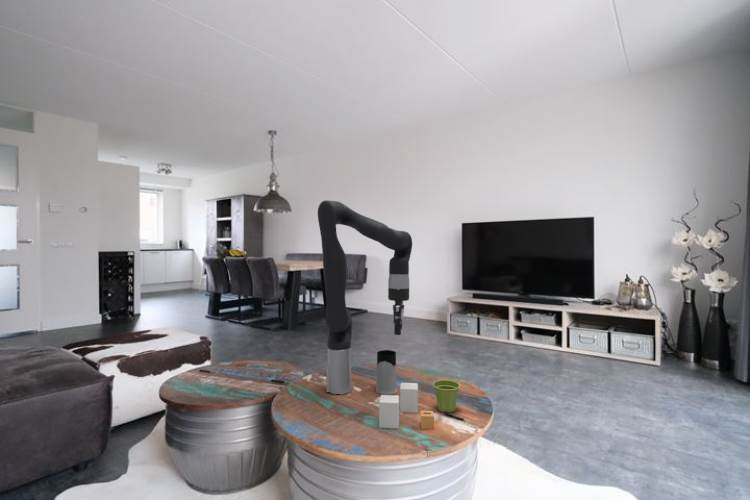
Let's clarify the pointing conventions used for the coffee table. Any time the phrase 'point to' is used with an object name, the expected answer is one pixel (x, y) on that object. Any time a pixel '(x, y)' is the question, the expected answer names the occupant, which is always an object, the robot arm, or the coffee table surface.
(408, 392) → the light grey rectangular block
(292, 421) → the coffee table surface
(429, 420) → the orange cube
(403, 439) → the coffee table surface
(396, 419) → the left white block
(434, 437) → the coffee table surface
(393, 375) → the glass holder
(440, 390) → the plant pot
